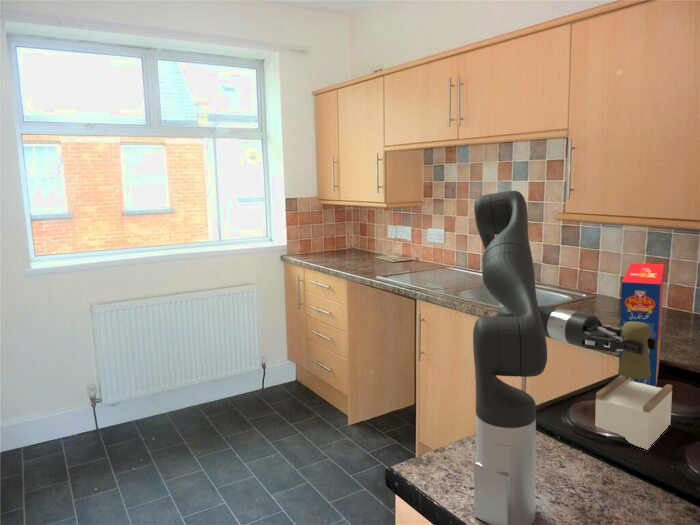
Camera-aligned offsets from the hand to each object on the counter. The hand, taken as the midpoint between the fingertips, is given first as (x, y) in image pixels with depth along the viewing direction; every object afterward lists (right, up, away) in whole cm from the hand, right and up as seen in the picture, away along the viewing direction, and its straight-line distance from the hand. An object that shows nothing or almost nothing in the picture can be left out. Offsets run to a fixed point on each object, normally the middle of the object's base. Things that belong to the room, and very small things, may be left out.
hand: (649, 346), depth 103 cm
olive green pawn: (-1, -6, +4) cm, 7 cm away
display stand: (0, -19, +5) cm, 19 cm away
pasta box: (+18, -13, +34) cm, 40 cm away
